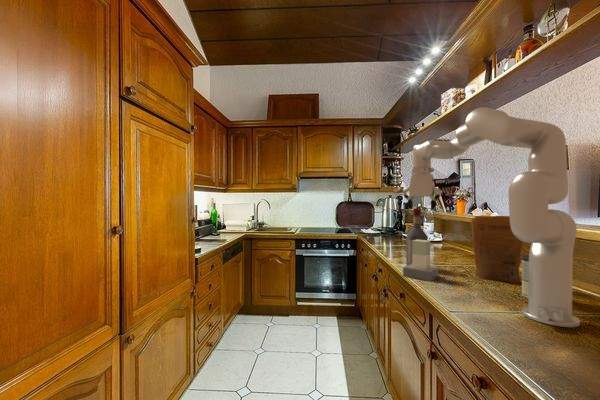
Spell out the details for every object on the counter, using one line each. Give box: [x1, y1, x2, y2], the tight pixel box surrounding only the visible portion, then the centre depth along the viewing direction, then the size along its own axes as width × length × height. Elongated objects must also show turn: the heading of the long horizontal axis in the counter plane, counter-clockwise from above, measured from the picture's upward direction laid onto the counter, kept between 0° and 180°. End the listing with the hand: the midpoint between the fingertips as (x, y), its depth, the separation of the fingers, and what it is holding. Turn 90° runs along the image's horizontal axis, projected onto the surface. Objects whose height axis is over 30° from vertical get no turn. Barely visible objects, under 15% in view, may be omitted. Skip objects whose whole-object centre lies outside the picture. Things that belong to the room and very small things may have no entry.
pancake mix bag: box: [470, 215, 524, 284], centre depth 123 cm, size 7×19×28 cm, turn 50°
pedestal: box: [402, 263, 440, 282], centre depth 128 cm, size 12×12×4 cm
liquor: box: [405, 208, 429, 266], centre depth 144 cm, size 9×9×30 cm
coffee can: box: [520, 254, 529, 299], centre depth 100 cm, size 10×10×14 cm
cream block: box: [412, 253, 431, 269], centre depth 128 cm, size 6×6×6 cm
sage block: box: [412, 239, 431, 256], centre depth 128 cm, size 6×6×6 cm
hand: (421, 209), depth 128 cm, fingers open, 9 cm apart
